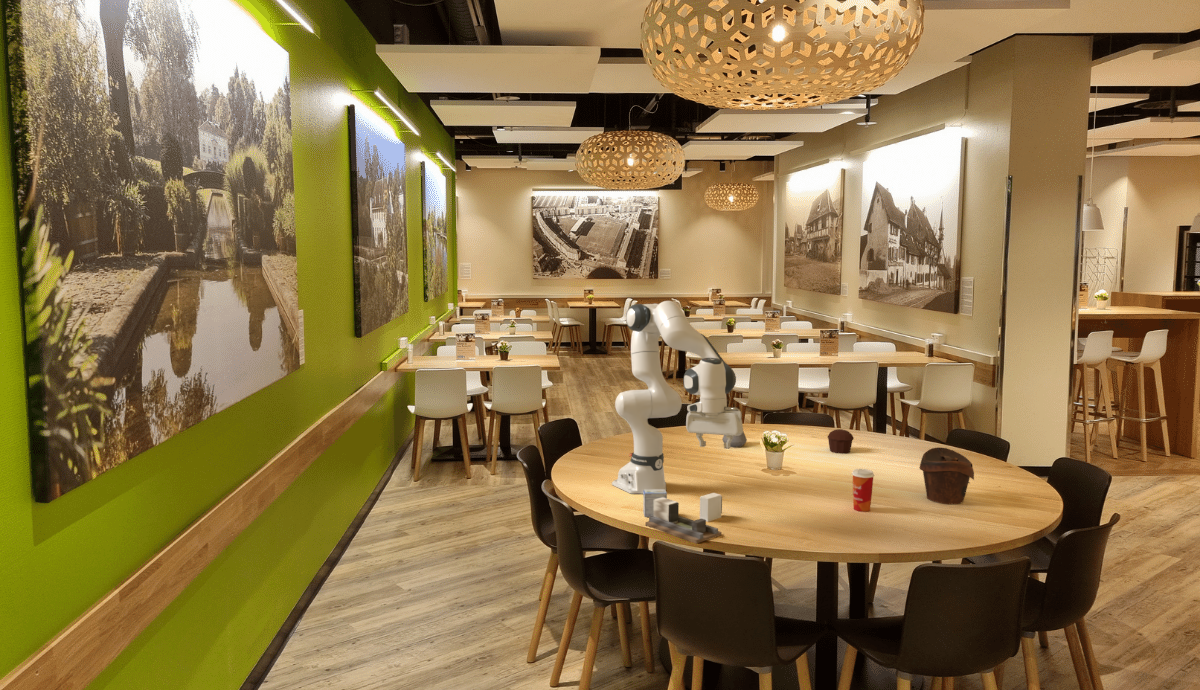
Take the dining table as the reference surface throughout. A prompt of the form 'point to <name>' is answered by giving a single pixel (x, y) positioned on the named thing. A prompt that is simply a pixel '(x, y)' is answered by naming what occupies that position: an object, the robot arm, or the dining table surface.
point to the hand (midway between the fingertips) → (714, 447)
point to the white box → (710, 506)
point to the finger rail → (679, 522)
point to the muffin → (840, 441)
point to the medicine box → (651, 500)
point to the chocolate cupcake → (946, 475)
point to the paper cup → (862, 489)
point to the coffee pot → (736, 440)
